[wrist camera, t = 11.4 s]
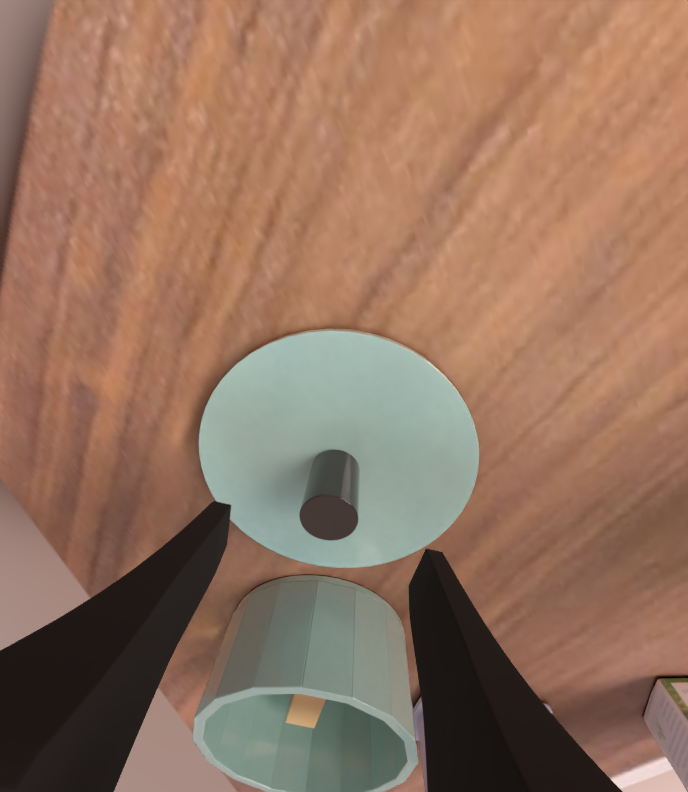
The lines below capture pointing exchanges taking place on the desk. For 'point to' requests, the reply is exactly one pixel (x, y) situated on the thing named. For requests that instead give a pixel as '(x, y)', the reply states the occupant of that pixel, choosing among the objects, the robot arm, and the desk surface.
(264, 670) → the pot
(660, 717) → the syrup box
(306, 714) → the tan wooden block
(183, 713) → the desk surface
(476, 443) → the lid
